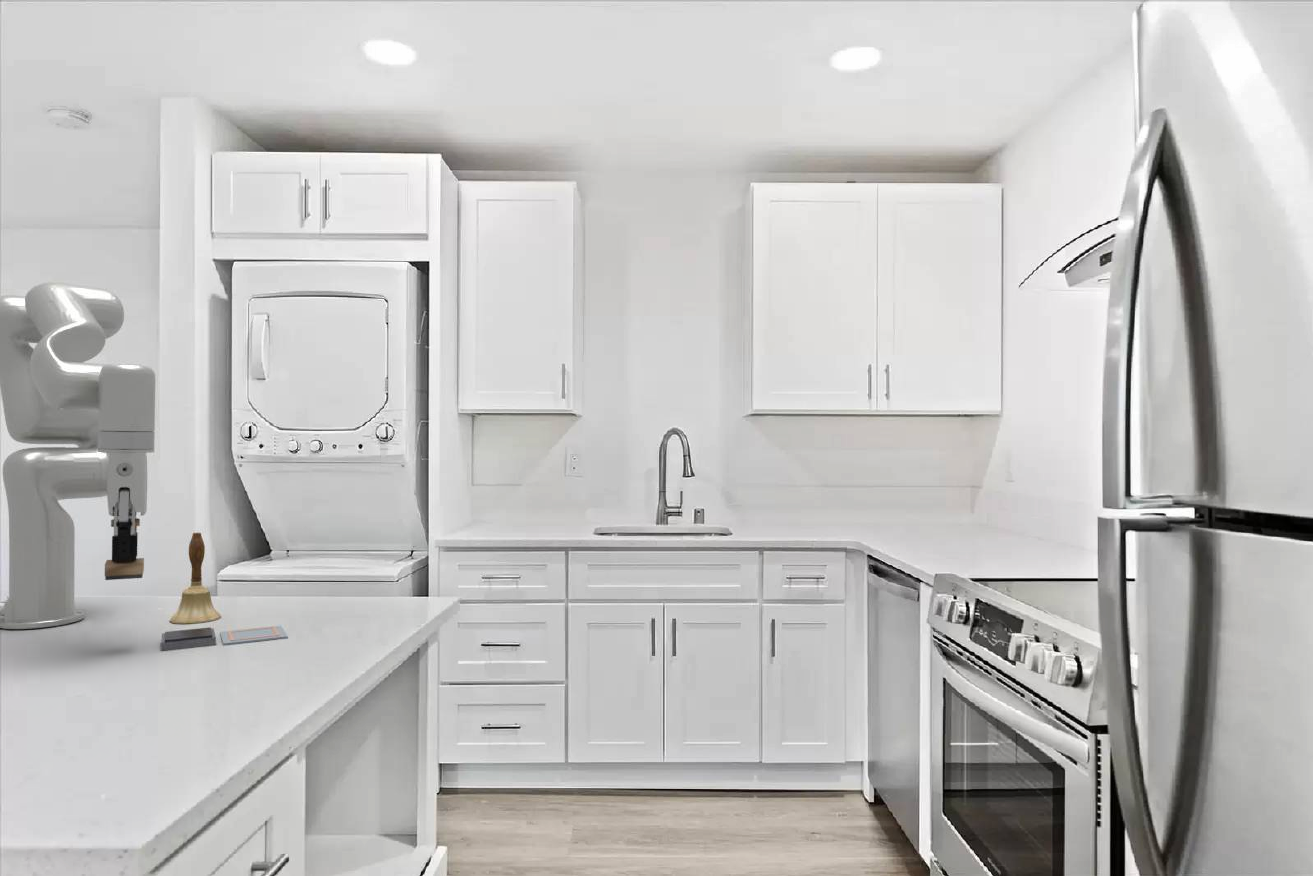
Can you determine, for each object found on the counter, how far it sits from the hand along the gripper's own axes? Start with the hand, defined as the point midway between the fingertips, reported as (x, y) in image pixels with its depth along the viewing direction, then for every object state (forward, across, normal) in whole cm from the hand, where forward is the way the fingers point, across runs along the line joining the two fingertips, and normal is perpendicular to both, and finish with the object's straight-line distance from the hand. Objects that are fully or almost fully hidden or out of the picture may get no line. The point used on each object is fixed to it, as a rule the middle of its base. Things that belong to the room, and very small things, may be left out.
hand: (124, 558), depth 130 cm
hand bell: (+15, +19, -10) cm, 26 cm away
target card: (+14, -1, -18) cm, 23 cm away
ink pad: (+14, -1, -9) cm, 17 cm away
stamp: (+3, 0, 0) cm, 3 cm away
